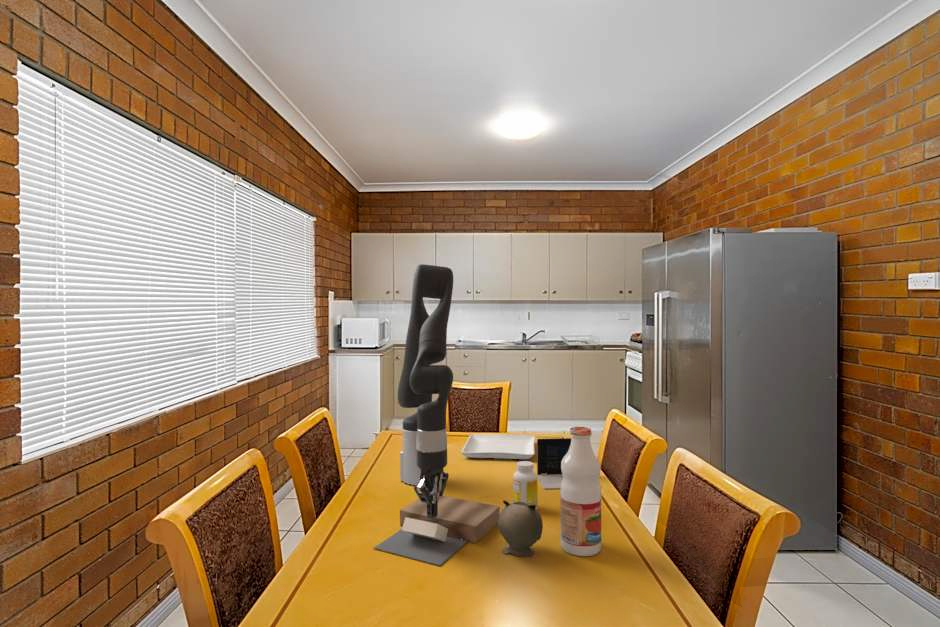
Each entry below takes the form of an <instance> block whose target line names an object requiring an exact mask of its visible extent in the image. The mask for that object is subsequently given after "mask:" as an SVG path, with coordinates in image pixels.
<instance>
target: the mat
mask: <svg viewBox="0 0 940 627" xmlns="http://www.w3.org/2000/svg"><path fill="white" fill-rule="evenodd" d="M468 542H469V541H465V540H461V539H457V538H452V537H448V536H447V537H446V541H445V542H443V541H439V540H434V539H430V538H425V537H421V536H417V535H413V534H410V533H408V532H405V531H403V530H402V528H401V529H399V530H398V531H396V532H395V533H394V534H392V535H391V536H389V537H387V538H386V539H385V540H383V541H382V542H379V543H378V544H377V545H376V546H374V547H373V549H374V548H376V549H379V550H378V551H380V550H383V551H385V552H384V553H387V552H389V553H388V554H391V553H393V554H392V555H395V554H397V555H396V556H398V555H401V556H400V557H402V556H404V557H403V558H406V557H408V558H407V559H410V558H411V559H410V560H414V559H415V560H414V561H417V560H419V561H418V562H422V563H425V564H428V565H429V564H430V565H433V566H437V567H441V566H442V565H443V564H444V563H446V562H447V561H448V560H449V559H451V557H452V556H454V555H455V554H456V553H457V552H458V551H459V550H461V549H462V548H463V547H464V546H465V545H466V544H468ZM376 549H375V550H376ZM383 551H382V552H383Z"/></svg>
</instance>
